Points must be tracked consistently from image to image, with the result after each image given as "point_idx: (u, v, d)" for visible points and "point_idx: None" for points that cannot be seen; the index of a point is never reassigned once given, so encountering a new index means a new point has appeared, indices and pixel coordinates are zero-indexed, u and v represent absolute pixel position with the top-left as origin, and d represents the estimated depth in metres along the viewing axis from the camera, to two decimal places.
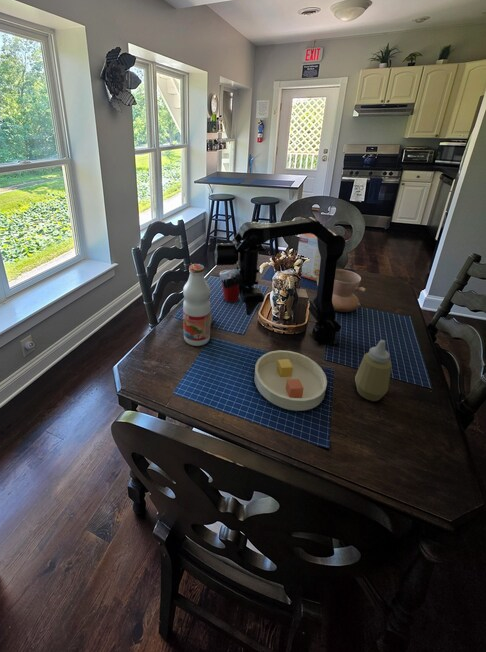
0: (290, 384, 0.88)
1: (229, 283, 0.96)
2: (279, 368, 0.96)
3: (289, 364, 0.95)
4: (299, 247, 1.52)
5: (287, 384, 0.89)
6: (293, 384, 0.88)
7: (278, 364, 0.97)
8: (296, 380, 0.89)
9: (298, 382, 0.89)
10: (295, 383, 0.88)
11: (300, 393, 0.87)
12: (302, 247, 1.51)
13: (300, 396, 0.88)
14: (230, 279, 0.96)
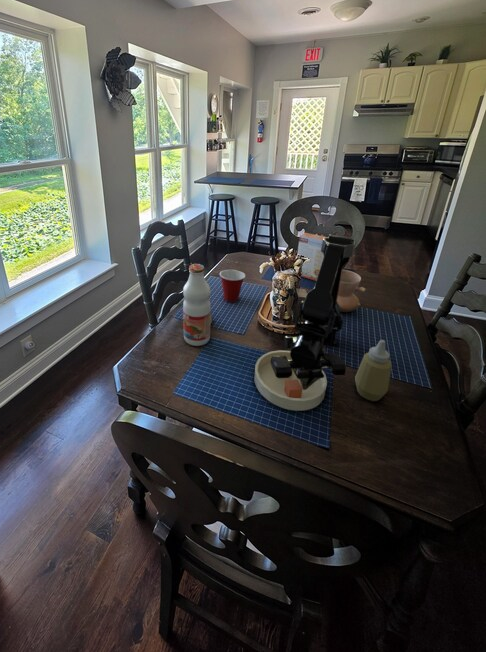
0: (289, 385, 0.88)
1: (285, 342, 0.91)
2: None
3: None
4: (299, 247, 1.52)
5: (286, 385, 0.89)
6: (292, 385, 0.88)
7: None
8: (295, 381, 0.89)
9: (297, 383, 0.88)
10: (294, 384, 0.88)
11: (299, 394, 0.87)
12: (302, 247, 1.51)
13: (299, 397, 0.88)
14: (286, 338, 0.90)
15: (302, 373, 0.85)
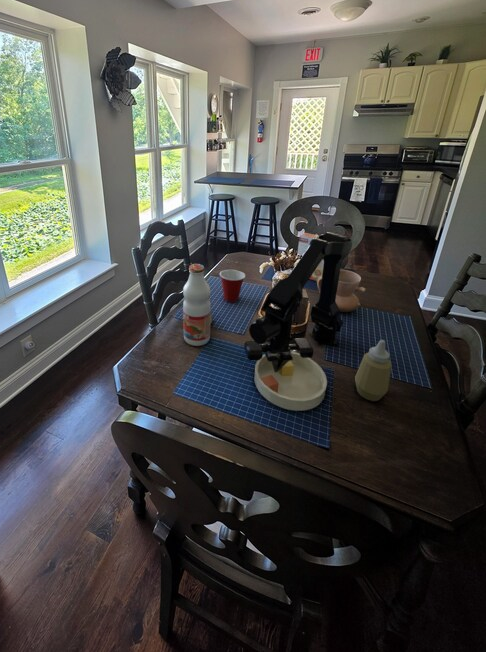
0: (266, 382, 0.89)
1: None
2: None
3: (290, 363, 0.95)
4: (299, 247, 1.52)
5: None
6: (268, 381, 0.89)
7: None
8: (269, 377, 0.91)
9: (272, 378, 0.90)
10: (270, 380, 0.89)
11: (276, 388, 0.89)
12: (302, 247, 1.51)
13: (276, 391, 0.90)
14: None
15: (272, 356, 0.91)
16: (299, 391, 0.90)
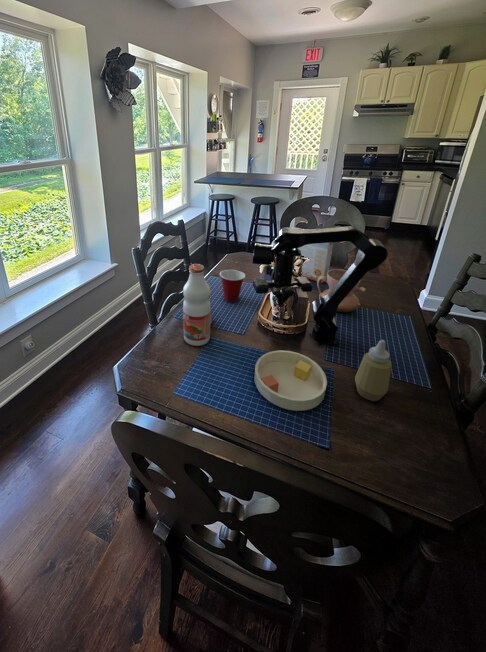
0: (266, 382, 0.89)
1: (265, 270, 1.13)
2: (301, 374, 0.94)
3: (306, 365, 0.95)
4: None
5: None
6: (268, 381, 0.89)
7: (298, 370, 0.94)
8: (269, 377, 0.91)
9: (272, 378, 0.90)
10: (270, 380, 0.89)
11: (276, 388, 0.89)
12: (302, 247, 1.51)
13: (276, 391, 0.90)
14: (265, 266, 1.12)
15: (277, 290, 1.07)
16: (299, 391, 0.90)
